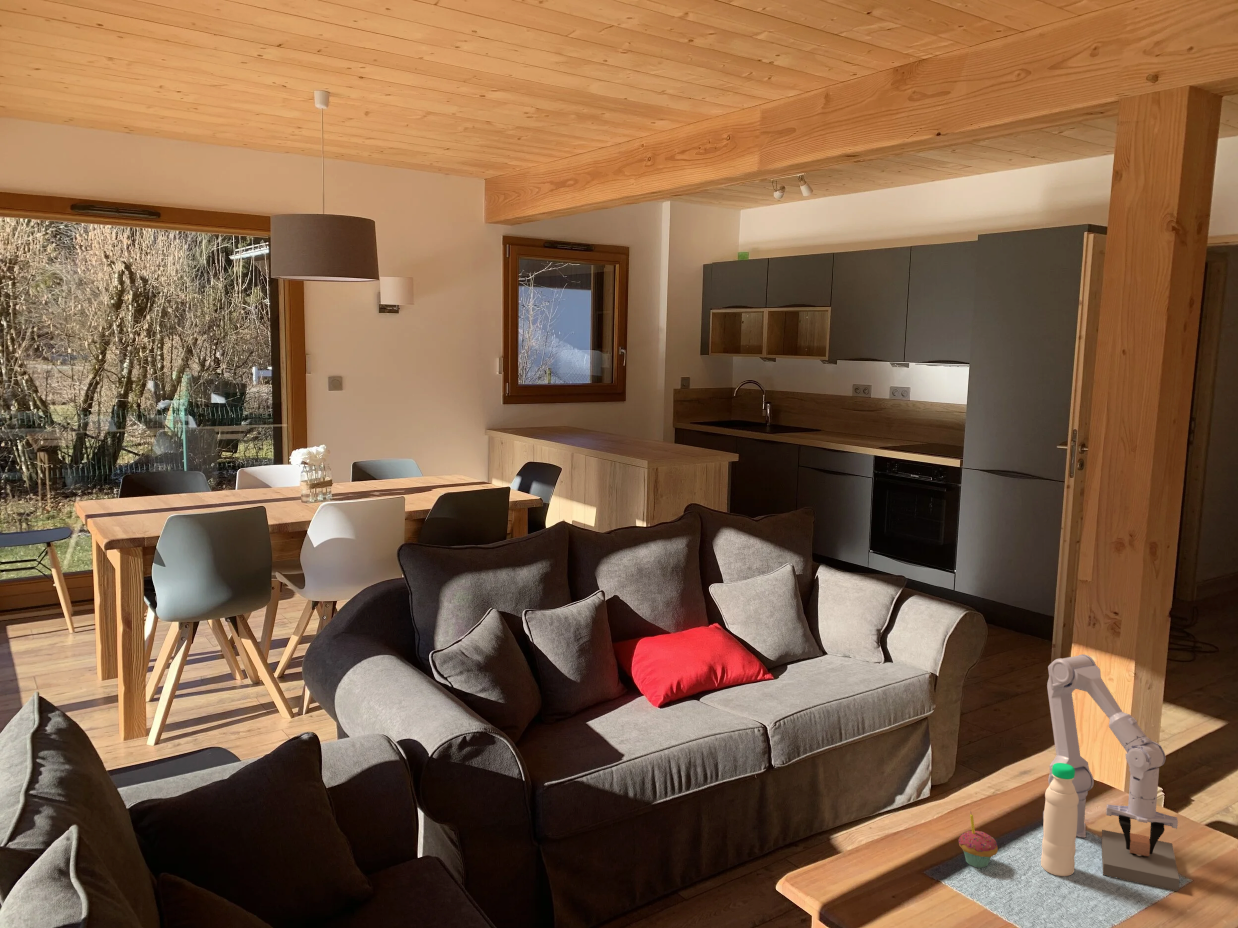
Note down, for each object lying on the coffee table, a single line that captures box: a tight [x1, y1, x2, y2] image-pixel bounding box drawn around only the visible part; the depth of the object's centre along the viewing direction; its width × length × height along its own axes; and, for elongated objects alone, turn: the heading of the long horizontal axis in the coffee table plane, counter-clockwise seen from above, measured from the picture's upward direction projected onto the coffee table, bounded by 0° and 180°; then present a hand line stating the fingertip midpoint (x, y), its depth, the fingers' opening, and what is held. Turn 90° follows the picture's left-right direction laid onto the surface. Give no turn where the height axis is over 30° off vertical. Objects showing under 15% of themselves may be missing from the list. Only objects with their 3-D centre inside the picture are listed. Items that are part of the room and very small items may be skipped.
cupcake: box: [958, 811, 999, 869], centre depth 224 cm, size 9×8×12 cm
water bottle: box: [1040, 763, 1079, 877], centre depth 220 cm, size 7×7×25 cm
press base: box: [1100, 829, 1180, 892], centre depth 224 cm, size 15×18×3 cm
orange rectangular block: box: [1129, 832, 1150, 856], centre depth 224 cm, size 4×4×6 cm
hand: (1138, 849), depth 224 cm, fingers closed on orange rectangular block, 4 cm apart
